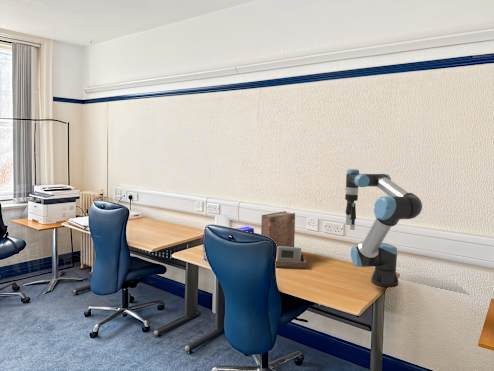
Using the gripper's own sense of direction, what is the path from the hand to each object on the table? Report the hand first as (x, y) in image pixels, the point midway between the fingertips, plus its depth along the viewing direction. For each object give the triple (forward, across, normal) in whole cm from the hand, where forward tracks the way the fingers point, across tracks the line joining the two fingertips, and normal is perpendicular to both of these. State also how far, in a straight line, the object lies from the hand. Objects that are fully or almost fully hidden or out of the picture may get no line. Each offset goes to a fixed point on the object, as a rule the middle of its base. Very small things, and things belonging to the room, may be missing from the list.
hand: (349, 227), depth 239 cm
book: (+29, -30, -44) cm, 61 cm away
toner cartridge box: (+29, -22, -79) cm, 87 cm away
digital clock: (+28, -9, -37) cm, 48 cm away
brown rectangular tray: (+29, -10, -37) cm, 48 cm away
